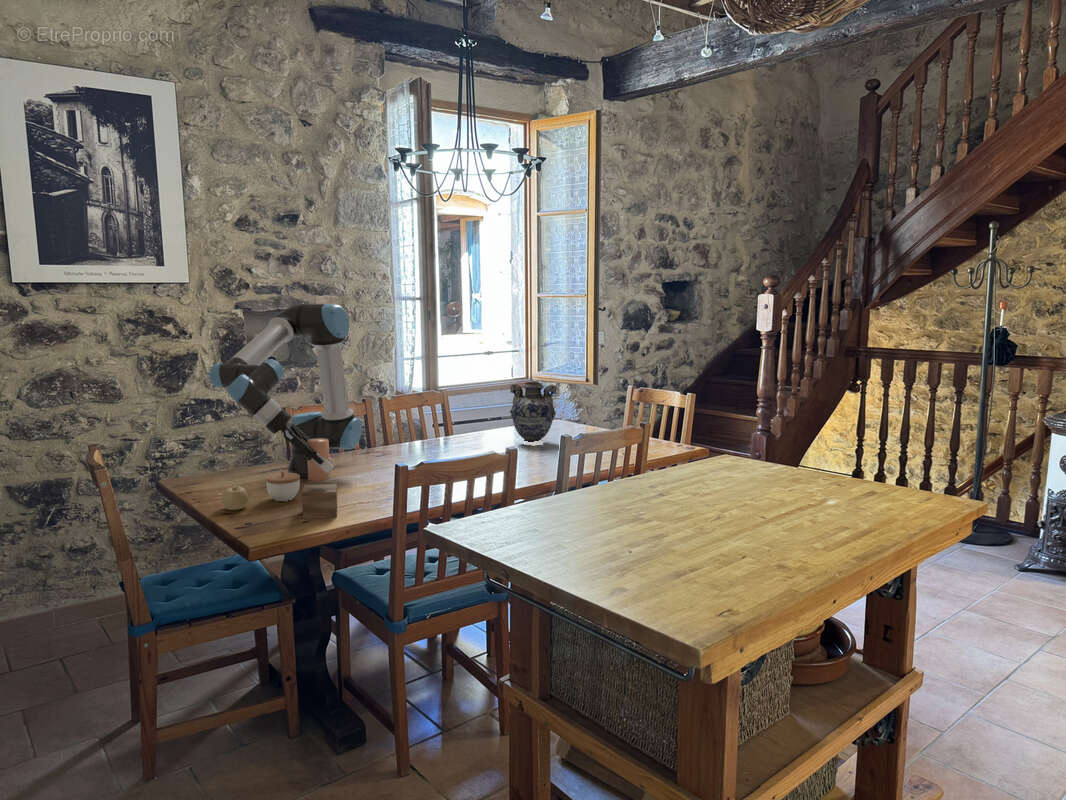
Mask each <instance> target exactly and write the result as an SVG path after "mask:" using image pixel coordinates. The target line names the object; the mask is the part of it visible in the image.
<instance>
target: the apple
mask: <svg viewBox="0 0 1066 800" xmlns="http://www.w3.org/2000/svg"><path fill="white" fill-rule="evenodd" d="M221 502H222V505H223V507H224V508H225V509H226V510H229V511H239V509H240V510H242V509H244V508H246V506H247V504H248V503H249V493H248V491H247V490H246V489H245V488H244V487H242V486H240V485H232V486H230V487H227V488H226V489H225V490H224V491H223V493H222V497H221Z"/></svg>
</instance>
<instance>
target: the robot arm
mask: <svg viewBox="0 0 1066 800" xmlns="http://www.w3.org/2000/svg"><path fill="white" fill-rule="evenodd" d="M349 331H350V318H349V316H348V313H347V311H346V310H345V309H344V308H343V307H342V306H341V305H339V304H333V303H332V304H331V303H298V304H297V303H296V304H295V305H291V306H289V307H287V308H285V309H283V310H281V311H280V312H279V313H277V314H276V315H274V316H273V317H272V318H271V319H270V320H269V321H268V323H267V326H266V327H265V328H264V329H263V330H261V331H260V333H258V334H256V336H255V337H254V338H252V339H251V340H250V341H249V342H248V343H247V344H246V345H245V346H244V347H242V348H241V349H240V350H239V351H238V352H236V354H235V355H233V356H232V357H231V358H230V359H229V360H227V362H225V363H223V362H220V363H214V364H212V366H211V367H210V369H209V370H208V371H209V372H208V378H209V380H210V383H211V385H212V386H214V387H216V388H224V389H226V394H228V395H229V396H230V397H231V398H232V399H233V401H234V402H236V403H237V404H238V405H240V406H241V407H242V408H243V409H244V410H246V411H247V412H248V413H249V414H250V415H251V416H252V417H254V421H255V422H258V421H259V422H260V423H261V424H262V425H265V428H266V429H267V430H268V431H269V432H271V433H272V434H274V435H275V434H277V433H278V432H279V431H280V432H281V433H283V437H284V439H285V440H287V441H288V442H290V447H291V453H290V454H291V455H290V459H289V462H288V465H287V467H286V468H287V469H286V470H287V471H286V473H296V474H299V475H300V479H308V460H309V461H310V460H311V459H312V460H313V461H314V462H315V463H316V464H317V465H318V466H320V467H321V468H322V469H323V470H324V471H325V472H326V473H328V472H329V471H331V470H332V469H333V468H334V465H333V464H334V463H335V460H333V459H332V458H331V457H330V456H329V462H328V461H327V460H326V459H325V458H324V457H322V456H321V455H320V454H319V453H318V452H317V453H316V451H314V450H313V449H312V448H311V447H310V446H309V445H308V444H307V440H310V439H317V438H323V439H328V440H329V449H336V450H351V449H355V448H356V446H357V445H358V444H359V442H360V440H361V438H362V433H363V423H362V421H361V420H360V419H359V418H358V417H355V412H354V410H353V409H352V408H350V405H349V398H348V390H347V381H346V376H345V374H346V373H345V368H344V359H343V352H342V344H343V343H344V342H345V337H347V336H348V334H349V333H350V332H349ZM300 337H301V338H302V337H303V338H304V337H307V338H308V337H309V339H310V344H311V345H312V346H314V348H315V351H316V356H317V357H316V359H317V363H318V364H317V365H318V371H319V377H320V379H319V380H320V384H321V392H322V393H321V394H322V399H323V408H324V411H323V412H322V411H309V412H303V413H298V414H295V415H291V414H290V413H289V412H288V411H287V410H286V409H285V408H282V406H281V405H280V404H279V403H278V402H277V401H276V400H275V399H274V398H272V397H271V396H270V395H269V394H268V393H270V391H271V390H273V388H274V387H275V386H276V385H278V384H279V383H280V381H281V379H283V377H284V373H285V372H284V368H283V366H282V365H281V364H280V363H279V361H277V360H275V359H271V358H270V359H269V357H270V356H272V354H273V353H274V352H276V351H277V350H278V348H280V347H281V346H282V345H283V344H284V343H288V342H290V341H292V339H294V338H300Z"/></svg>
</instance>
